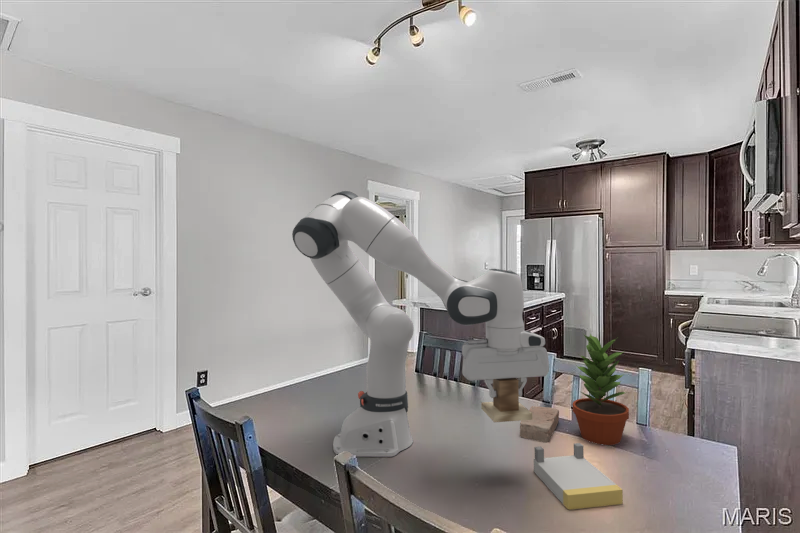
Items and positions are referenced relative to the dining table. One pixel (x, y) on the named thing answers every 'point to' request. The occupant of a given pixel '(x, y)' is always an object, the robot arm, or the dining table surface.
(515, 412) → the wooden block on base
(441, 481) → the dining table surface
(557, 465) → the dock
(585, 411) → the potted plant
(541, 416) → the brick
